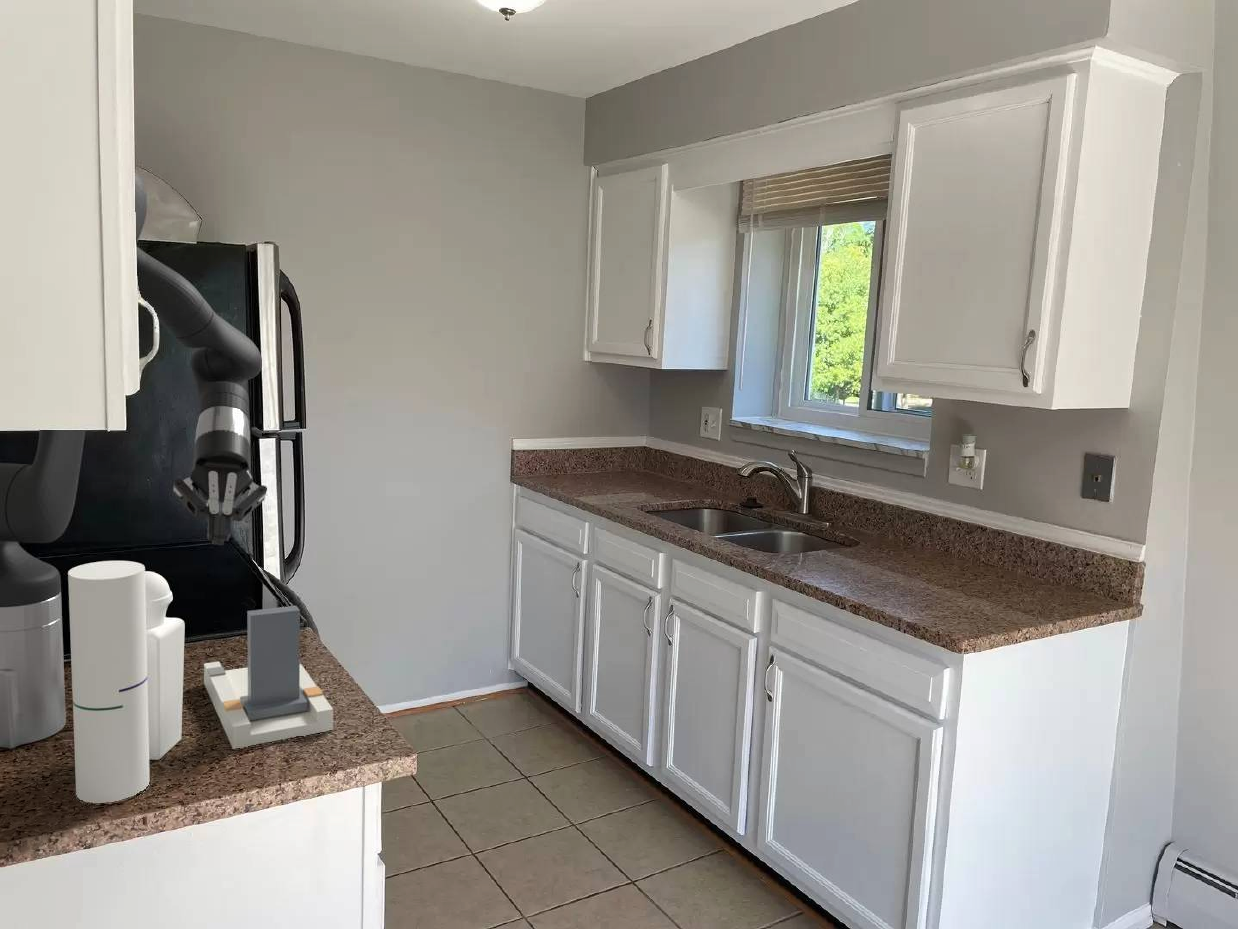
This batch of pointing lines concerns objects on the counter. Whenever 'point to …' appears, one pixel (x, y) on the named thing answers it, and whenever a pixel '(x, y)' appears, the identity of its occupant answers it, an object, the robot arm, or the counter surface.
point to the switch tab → (273, 663)
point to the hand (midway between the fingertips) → (218, 541)
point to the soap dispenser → (163, 667)
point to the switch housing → (245, 733)
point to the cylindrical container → (109, 679)
